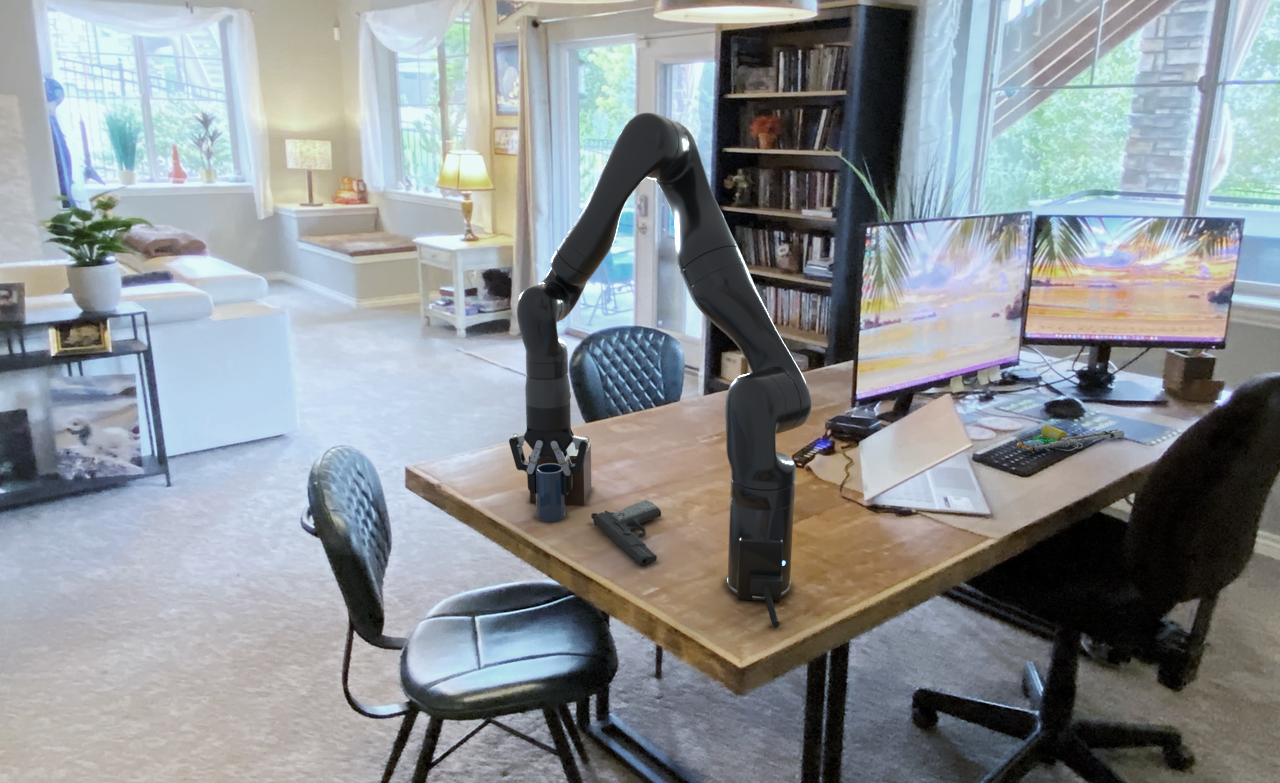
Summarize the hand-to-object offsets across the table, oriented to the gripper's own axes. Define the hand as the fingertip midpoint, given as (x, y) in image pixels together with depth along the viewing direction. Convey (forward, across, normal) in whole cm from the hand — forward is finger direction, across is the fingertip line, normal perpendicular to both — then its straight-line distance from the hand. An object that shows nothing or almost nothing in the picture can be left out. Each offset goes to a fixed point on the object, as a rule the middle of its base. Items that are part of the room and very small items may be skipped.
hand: (550, 492), depth 161 cm
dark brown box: (+4, 0, +9) cm, 10 cm away
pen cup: (+4, 0, 0) cm, 4 cm away
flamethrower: (+5, +103, +51) cm, 115 cm away
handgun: (+5, +17, -7) cm, 19 cm away
